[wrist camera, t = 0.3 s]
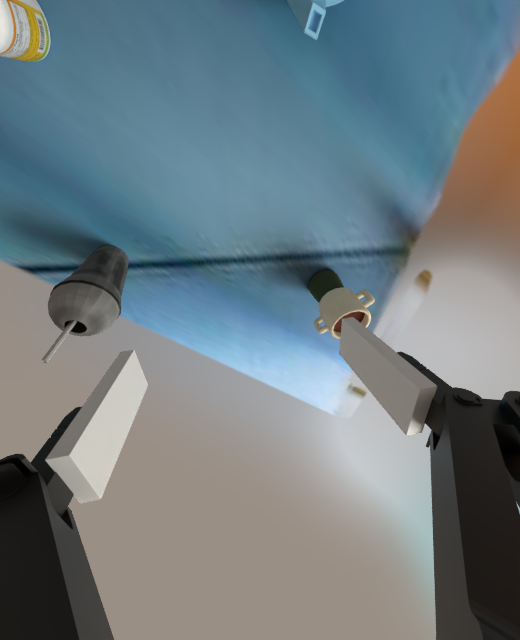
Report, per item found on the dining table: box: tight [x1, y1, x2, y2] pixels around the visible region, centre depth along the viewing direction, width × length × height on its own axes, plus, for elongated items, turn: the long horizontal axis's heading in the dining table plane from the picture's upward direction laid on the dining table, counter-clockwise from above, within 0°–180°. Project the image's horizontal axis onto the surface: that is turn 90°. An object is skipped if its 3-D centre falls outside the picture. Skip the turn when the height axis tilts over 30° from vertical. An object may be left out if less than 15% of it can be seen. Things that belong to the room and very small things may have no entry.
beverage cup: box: [41, 245, 129, 363], centre depth 30 cm, size 7×7×20 cm
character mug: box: [309, 270, 375, 339], centre depth 43 cm, size 11×7×13 cm, turn 127°
